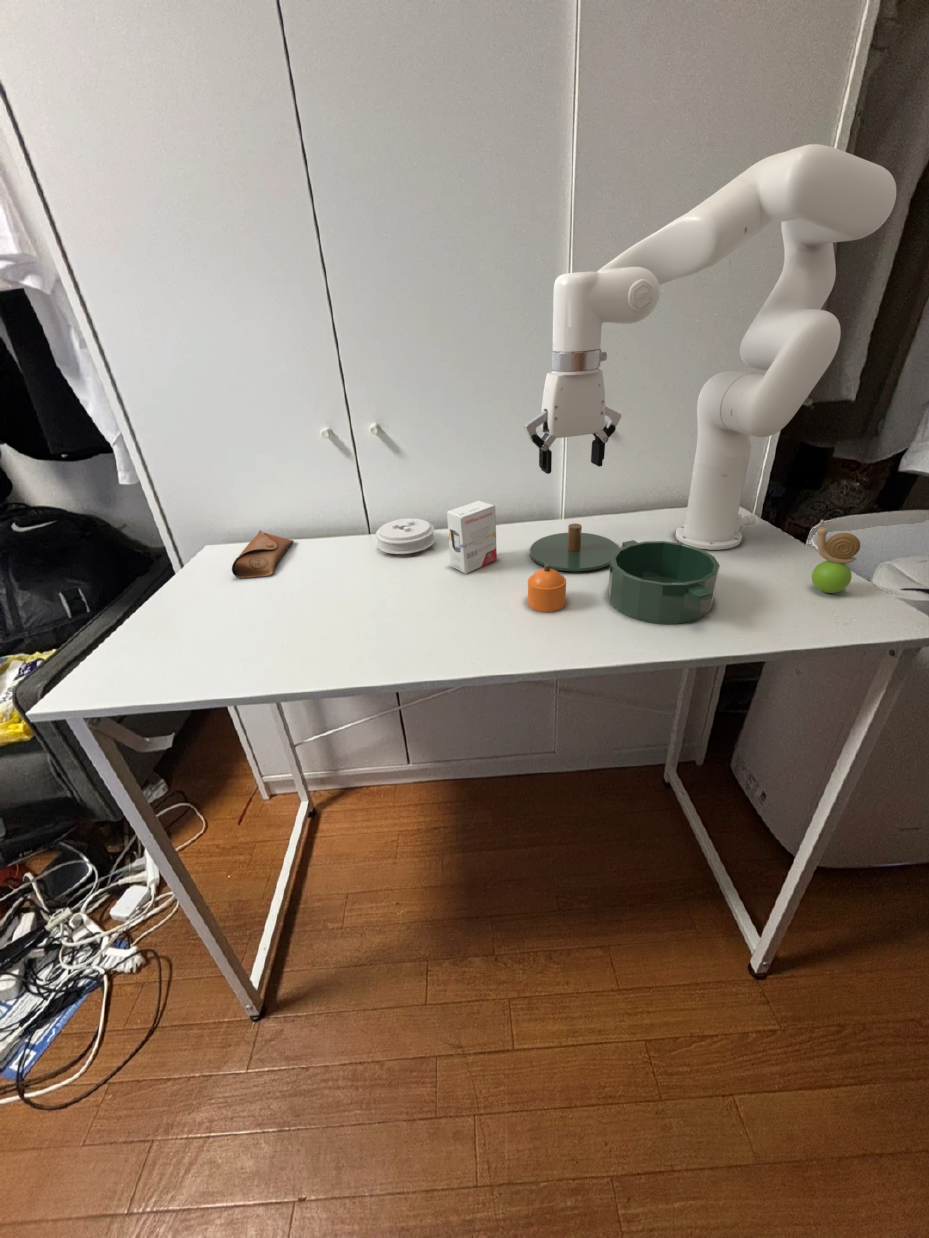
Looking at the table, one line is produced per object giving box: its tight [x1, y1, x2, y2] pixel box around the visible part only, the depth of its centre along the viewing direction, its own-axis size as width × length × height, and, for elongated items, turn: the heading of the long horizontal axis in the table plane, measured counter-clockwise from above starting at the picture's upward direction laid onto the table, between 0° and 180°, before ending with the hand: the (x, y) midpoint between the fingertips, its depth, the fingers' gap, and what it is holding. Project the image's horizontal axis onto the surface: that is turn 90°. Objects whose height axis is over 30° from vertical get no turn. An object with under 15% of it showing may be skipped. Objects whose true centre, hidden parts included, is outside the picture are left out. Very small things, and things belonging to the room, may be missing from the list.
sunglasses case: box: [231, 529, 295, 579], centre depth 118 cm, size 18×7×7 cm
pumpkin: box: [527, 564, 567, 613], centre depth 92 cm, size 6×6×7 cm
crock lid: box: [529, 522, 620, 572], centre depth 108 cm, size 18×18×6 cm
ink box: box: [446, 500, 498, 575], centre depth 106 cm, size 9×5×12 cm, turn 129°
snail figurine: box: [811, 519, 861, 594], centre depth 88 cm, size 5×6×12 cm
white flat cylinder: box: [375, 517, 436, 555], centre depth 118 cm, size 13×13×5 cm
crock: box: [607, 539, 721, 625], centre depth 91 cm, size 17×22×7 cm
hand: (571, 468), depth 97 cm, fingers open, 9 cm apart
